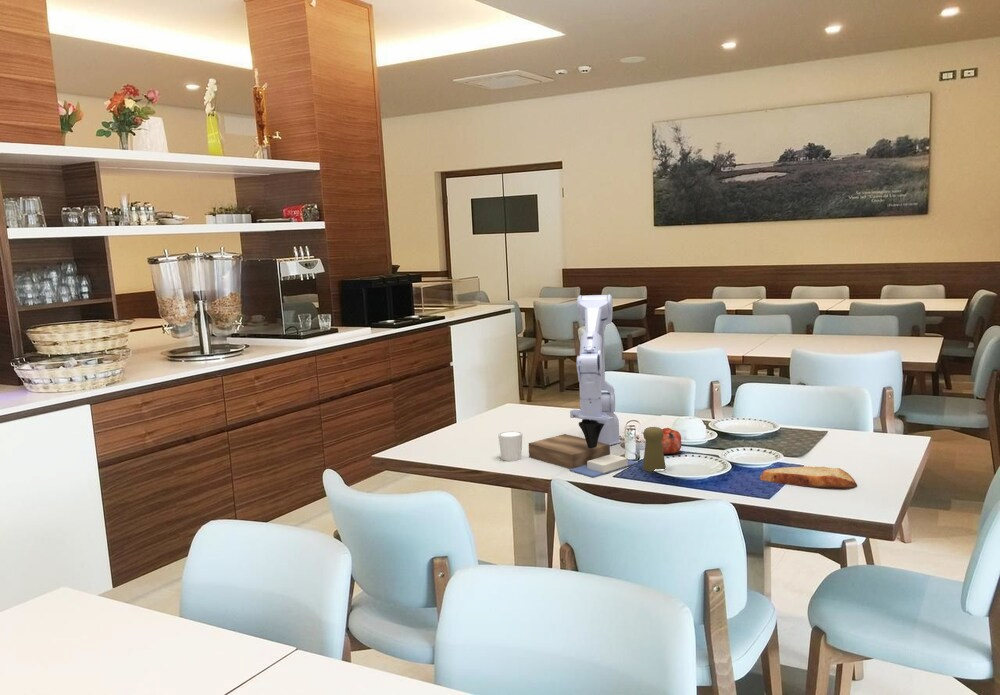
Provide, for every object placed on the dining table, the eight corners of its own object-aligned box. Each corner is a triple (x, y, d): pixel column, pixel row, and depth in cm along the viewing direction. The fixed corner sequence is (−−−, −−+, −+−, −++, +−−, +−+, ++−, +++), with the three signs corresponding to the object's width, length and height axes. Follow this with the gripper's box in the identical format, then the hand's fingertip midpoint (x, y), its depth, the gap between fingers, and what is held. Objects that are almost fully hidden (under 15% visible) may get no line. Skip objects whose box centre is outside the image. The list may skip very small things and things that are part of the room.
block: (627, 458, 215) (627, 465, 215) (610, 454, 219) (611, 461, 220) (603, 465, 209) (603, 473, 210) (587, 461, 214) (587, 468, 214)
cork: (648, 473, 209) (647, 431, 207) (638, 466, 215) (637, 426, 213) (670, 470, 211) (669, 428, 209) (659, 464, 216) (658, 423, 215)
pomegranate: (652, 458, 229) (655, 445, 221) (653, 435, 233) (656, 420, 224) (679, 461, 228) (683, 448, 220) (680, 437, 232) (684, 423, 223)
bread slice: (753, 478, 202) (753, 463, 201) (812, 468, 208) (812, 454, 207) (802, 499, 185) (802, 483, 184) (865, 487, 191) (865, 472, 190)
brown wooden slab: (565, 447, 238) (564, 433, 237) (610, 458, 224) (609, 444, 223) (529, 457, 229) (528, 443, 229) (573, 469, 215) (572, 454, 215)
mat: (614, 457, 224) (614, 456, 224) (638, 463, 218) (638, 462, 218) (569, 470, 214) (569, 469, 214) (593, 477, 207) (593, 476, 207)
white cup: (526, 455, 231) (525, 431, 230) (520, 461, 225) (519, 437, 224) (503, 454, 233) (501, 430, 232) (496, 461, 227) (495, 436, 226)
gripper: (561, 396, 220) (563, 445, 222) (599, 403, 209) (601, 455, 210) (580, 392, 224) (581, 440, 226) (618, 399, 213) (619, 449, 215)
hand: (592, 447), depth 218 cm, fingers closed
